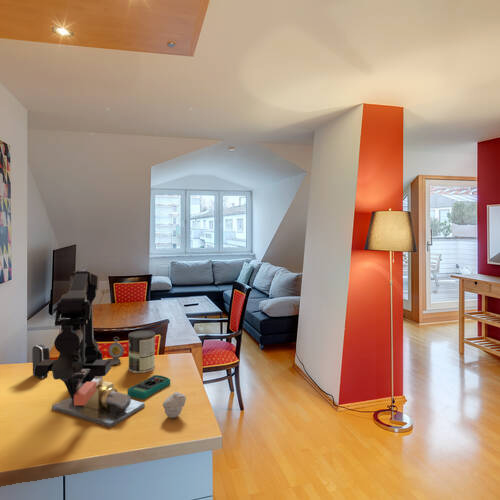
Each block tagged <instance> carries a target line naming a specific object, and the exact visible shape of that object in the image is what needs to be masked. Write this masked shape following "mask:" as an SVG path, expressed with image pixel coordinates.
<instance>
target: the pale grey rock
mask: <svg viewBox="0 0 500 500" xmlns="http://www.w3.org/2000/svg"><path fill="white" fill-rule="evenodd" d="M186 398H187V397H186V395H185V394H183V393H181V392H179V391H175V392H173V394H171V395H169V396H168V397H167V398H166V399H165V400H164V401H163V402H162V407H163V409H164V413H165V415H166V417H168V418H170V419H175V418H177V417H179V416H180V414H181V413H182V410H183V407H184V406H185V404H186Z"/></svg>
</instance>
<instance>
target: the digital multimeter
mask: <svg viewBox="0 0 500 500" xmlns="http://www.w3.org/2000/svg"><path fill="white" fill-rule="evenodd" d="M170 385H171V379H170V378H168V377H166V376H164V375H159V374H158V375H157V374H155V375H152V376H151V377H149V378H147V379H145V380H143V381H140V382H139V383H137V384H135V385H133V386H130V387H129V388H128V389H127V391H126V392H127V394H126V395H129V396H130V397H131V398H135V399H139V400H145V399H147V398H149V397H151V396H152V395H154V394H155V393H157V392H159V391H160V390H162V389H165V388H167V387H168V386H170Z"/></svg>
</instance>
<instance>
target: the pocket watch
mask: <svg viewBox="0 0 500 500" xmlns="http://www.w3.org/2000/svg"><path fill="white" fill-rule="evenodd" d="M116 338H117V339H116ZM119 340H120V337H118V336H115V337H113V341H114V342H113V343H111V344H110V345H109V347H108V353H109V355H110V357H111V358H106V359H105V360H109V361H110V362H111V366H113V365H114V366H115V365H118V364H119V363H121V359H120V358H121V357H122V356H123V355H124V353H125V348H124V347H123V345H122V344H121V343H119Z"/></svg>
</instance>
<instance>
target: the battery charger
mask: <svg viewBox="0 0 500 500" xmlns="http://www.w3.org/2000/svg"><path fill="white" fill-rule="evenodd" d="M31 350H32V353H31V354H32V358H31V359H32V375H33V376H34V367H35V366H36V365H37V364H39V363H40V362H42V361H43V360H51V359H50V358H51V357H50V349H49V347H48V346H46V345H44V344H38V345H33V346H32V349H31ZM48 375H49V373H48V374H47V375H46V376H43V377H37V378H38V379H44V378H46V377H48Z"/></svg>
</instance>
